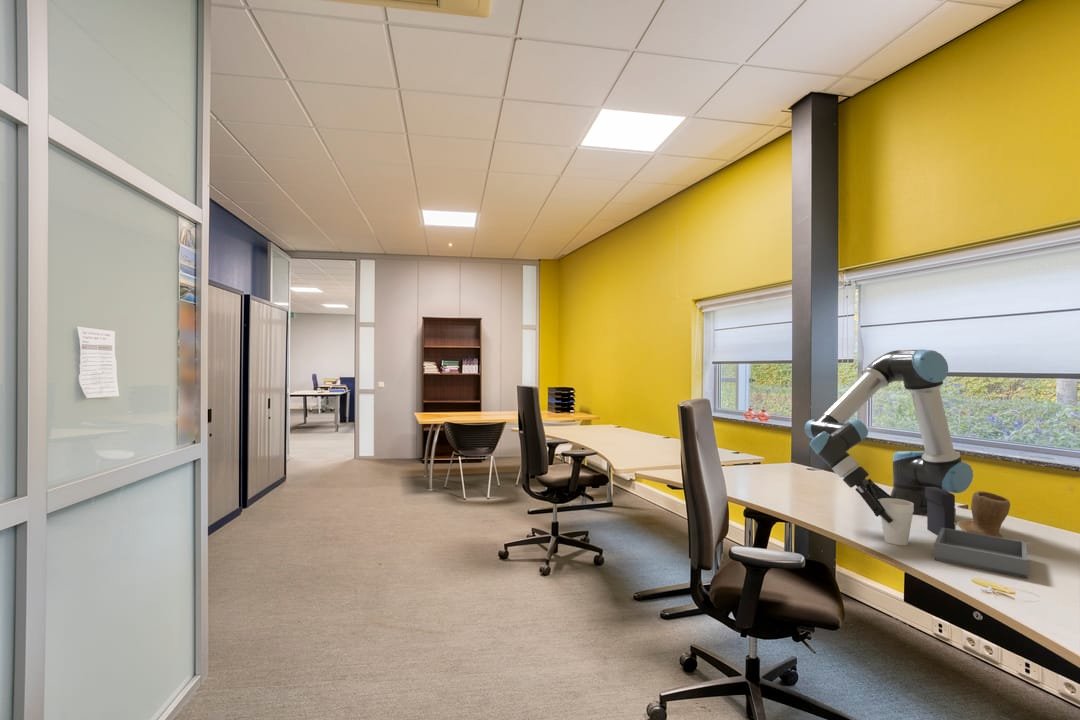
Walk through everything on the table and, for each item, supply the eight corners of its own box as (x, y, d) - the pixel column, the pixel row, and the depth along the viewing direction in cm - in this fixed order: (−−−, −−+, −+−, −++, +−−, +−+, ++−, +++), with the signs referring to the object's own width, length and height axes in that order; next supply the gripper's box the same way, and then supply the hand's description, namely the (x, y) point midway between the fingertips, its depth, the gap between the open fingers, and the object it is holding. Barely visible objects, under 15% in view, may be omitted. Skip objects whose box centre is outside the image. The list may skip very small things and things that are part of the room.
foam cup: (920, 547, 164) (920, 506, 164) (887, 546, 165) (887, 505, 165) (903, 537, 173) (903, 498, 173) (873, 536, 174) (873, 497, 175)
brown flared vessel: (1015, 547, 165) (1015, 499, 165) (968, 541, 170) (968, 495, 170) (999, 533, 178) (999, 489, 178) (956, 528, 184) (956, 485, 184)
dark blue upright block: (957, 540, 171) (957, 494, 171) (942, 539, 171) (942, 494, 172) (939, 530, 181) (939, 487, 181) (925, 529, 182) (925, 486, 182)
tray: (941, 542, 168) (941, 527, 168) (1026, 558, 155) (1026, 541, 155) (934, 559, 154) (934, 542, 154) (1027, 579, 140) (1027, 560, 140)
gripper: (850, 473, 189) (900, 523, 179) (832, 484, 170) (887, 541, 160) (867, 460, 185) (919, 510, 175) (851, 470, 167) (908, 528, 157)
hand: (904, 525), depth 168 cm, fingers open, 13 cm apart
